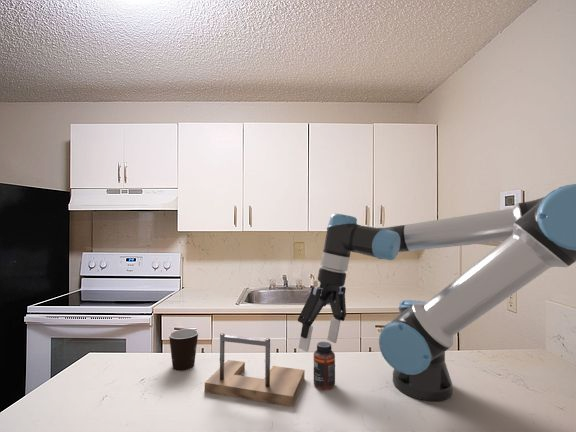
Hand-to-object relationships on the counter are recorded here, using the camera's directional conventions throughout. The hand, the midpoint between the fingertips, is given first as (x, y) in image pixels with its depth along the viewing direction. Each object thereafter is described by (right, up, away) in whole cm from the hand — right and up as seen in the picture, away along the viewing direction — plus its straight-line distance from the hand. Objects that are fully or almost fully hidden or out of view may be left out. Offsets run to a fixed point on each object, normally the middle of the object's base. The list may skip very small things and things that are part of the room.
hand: (318, 345), depth 86 cm
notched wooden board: (-17, -11, 0) cm, 20 cm away
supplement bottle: (+2, -11, 0) cm, 11 cm away
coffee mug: (-41, -11, +12) cm, 44 cm away
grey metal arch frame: (-20, -8, -3) cm, 22 cm away
